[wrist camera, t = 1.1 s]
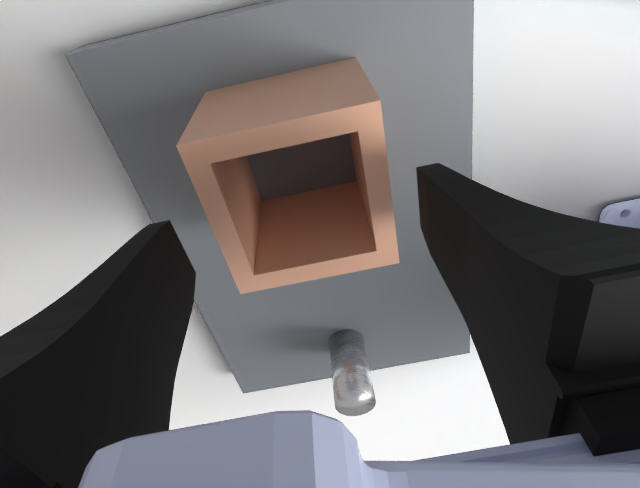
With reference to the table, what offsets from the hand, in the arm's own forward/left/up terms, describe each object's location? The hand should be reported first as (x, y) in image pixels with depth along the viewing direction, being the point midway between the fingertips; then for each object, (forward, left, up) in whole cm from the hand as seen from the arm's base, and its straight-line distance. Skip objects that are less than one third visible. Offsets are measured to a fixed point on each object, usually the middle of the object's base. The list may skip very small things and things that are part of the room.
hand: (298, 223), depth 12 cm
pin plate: (0, +5, -7) cm, 9 cm away
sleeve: (0, 0, -6) cm, 6 cm away
